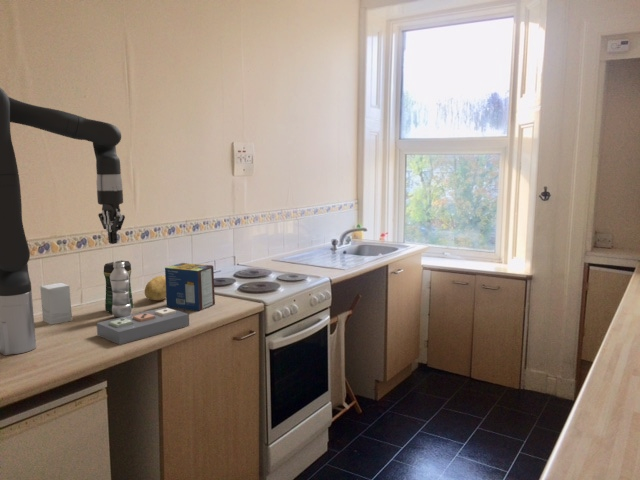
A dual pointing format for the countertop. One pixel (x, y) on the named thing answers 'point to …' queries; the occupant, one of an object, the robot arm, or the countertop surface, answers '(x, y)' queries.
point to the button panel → (142, 326)
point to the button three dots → (143, 317)
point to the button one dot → (165, 312)
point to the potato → (156, 288)
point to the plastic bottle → (120, 290)
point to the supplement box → (56, 303)
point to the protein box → (190, 286)
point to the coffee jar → (109, 294)
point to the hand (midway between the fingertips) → (113, 243)
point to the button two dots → (121, 323)
